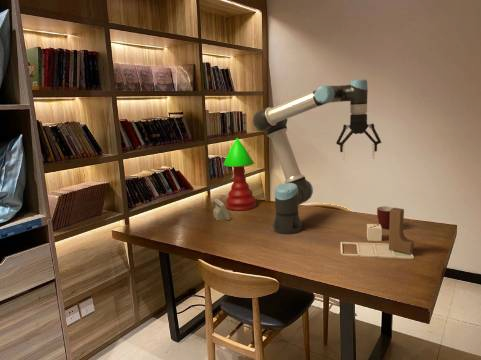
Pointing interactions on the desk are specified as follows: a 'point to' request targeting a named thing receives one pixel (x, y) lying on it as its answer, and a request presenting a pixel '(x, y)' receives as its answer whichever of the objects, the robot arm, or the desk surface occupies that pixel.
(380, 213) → the mug
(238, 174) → the table lamp
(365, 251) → the track board
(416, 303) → the desk surface
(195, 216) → the desk surface
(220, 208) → the grey lumpy piece
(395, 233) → the wooden block
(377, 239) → the die
